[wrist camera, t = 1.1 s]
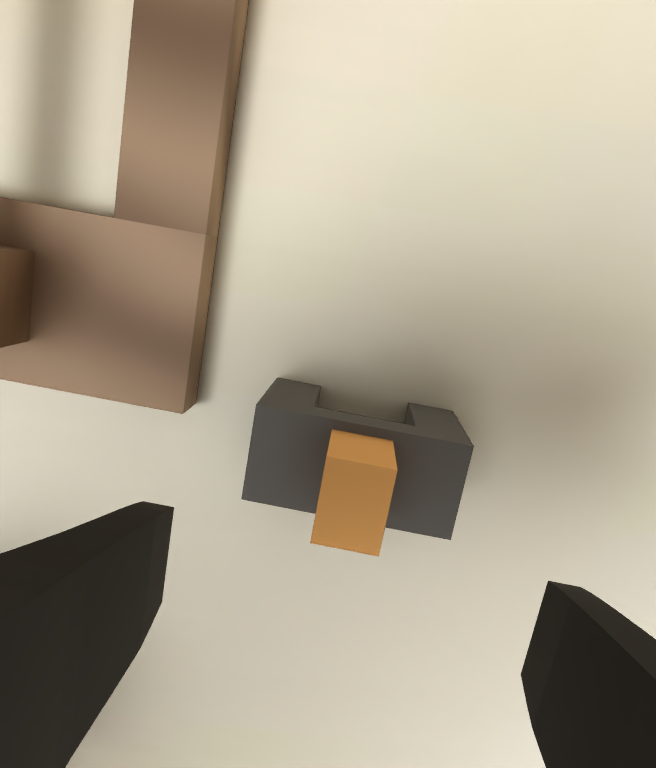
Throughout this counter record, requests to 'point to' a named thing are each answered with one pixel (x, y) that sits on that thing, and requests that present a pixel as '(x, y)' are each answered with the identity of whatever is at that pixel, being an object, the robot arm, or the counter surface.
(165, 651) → the counter surface
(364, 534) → the clip
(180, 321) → the brown wooden frame
